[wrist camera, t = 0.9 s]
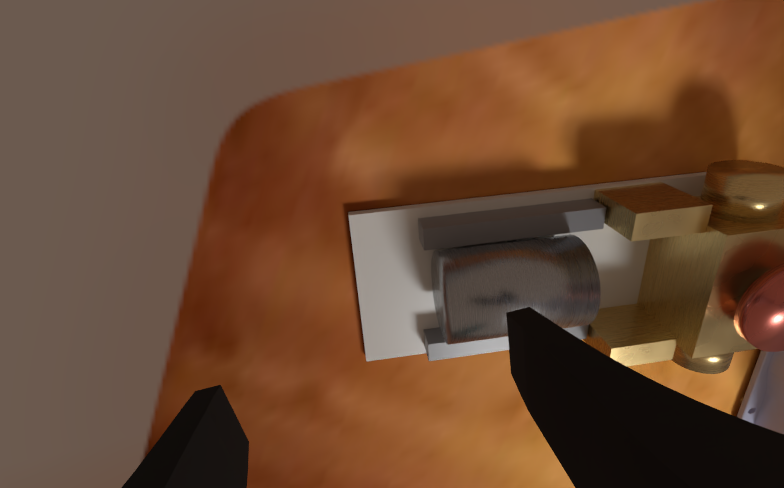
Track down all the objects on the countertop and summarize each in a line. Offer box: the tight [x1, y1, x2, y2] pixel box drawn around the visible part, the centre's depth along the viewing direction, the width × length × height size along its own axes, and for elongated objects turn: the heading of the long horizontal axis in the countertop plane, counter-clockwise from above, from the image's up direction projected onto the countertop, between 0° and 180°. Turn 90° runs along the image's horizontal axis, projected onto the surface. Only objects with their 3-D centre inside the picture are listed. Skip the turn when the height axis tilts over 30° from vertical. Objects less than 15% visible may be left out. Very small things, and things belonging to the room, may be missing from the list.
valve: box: [583, 160, 784, 374], centre depth 19 cm, size 10×8×5 cm
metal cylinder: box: [431, 234, 601, 345], centre depth 19 cm, size 4×6×4 cm, turn 94°
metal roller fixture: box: [348, 172, 707, 361], centre depth 21 cm, size 8×19×2 cm, turn 94°
